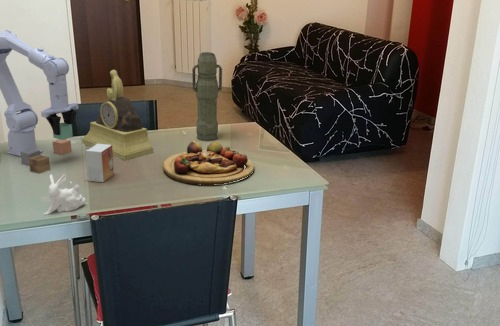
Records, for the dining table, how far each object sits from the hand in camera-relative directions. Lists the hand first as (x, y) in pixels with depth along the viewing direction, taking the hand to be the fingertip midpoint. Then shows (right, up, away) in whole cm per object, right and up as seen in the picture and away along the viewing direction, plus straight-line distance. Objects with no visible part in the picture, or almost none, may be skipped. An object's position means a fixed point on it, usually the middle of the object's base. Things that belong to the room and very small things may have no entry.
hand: (62, 132), depth 178 cm
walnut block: (-6, -13, -5) cm, 15 cm away
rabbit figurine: (+12, -23, -32) cm, 41 cm away
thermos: (+48, 0, +34) cm, 59 cm away
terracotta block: (-4, -7, +12) cm, 14 cm away
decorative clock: (+14, -5, +19) cm, 24 cm away
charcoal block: (-11, -11, +1) cm, 15 cm away
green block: (0, -1, +1) cm, 2 cm away
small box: (+17, -16, -10) cm, 25 cm away
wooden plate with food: (+51, -13, +1) cm, 53 cm away
